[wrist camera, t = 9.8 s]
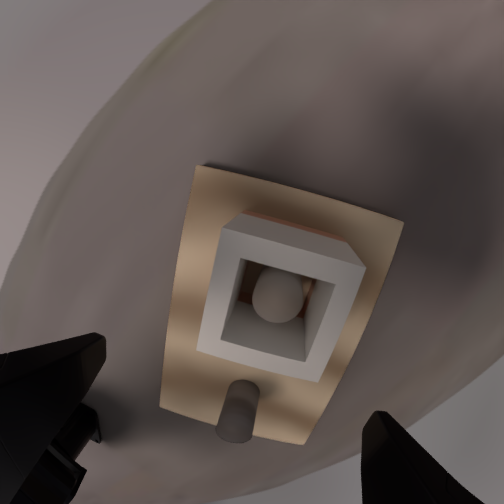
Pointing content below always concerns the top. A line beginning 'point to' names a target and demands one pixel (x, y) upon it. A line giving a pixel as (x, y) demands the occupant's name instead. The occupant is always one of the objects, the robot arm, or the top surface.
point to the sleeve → (310, 316)
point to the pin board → (193, 282)
